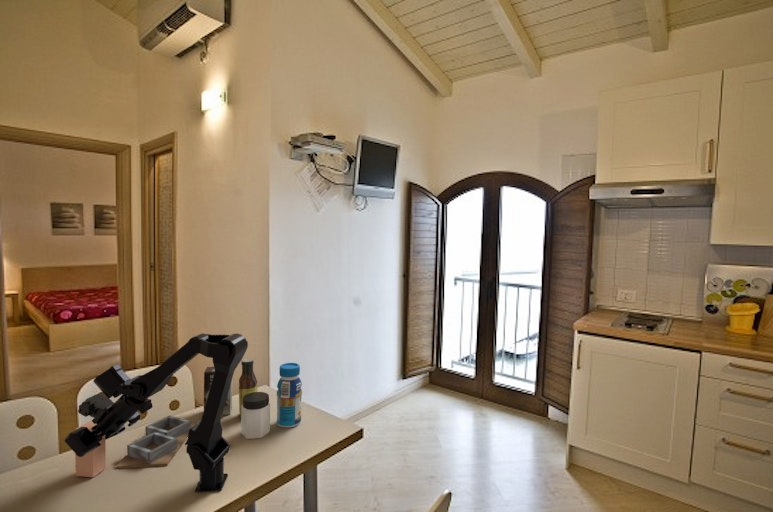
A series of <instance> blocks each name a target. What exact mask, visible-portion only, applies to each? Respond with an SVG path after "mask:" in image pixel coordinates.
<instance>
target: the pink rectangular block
mask: <svg viewBox="0 0 773 512" xmlns="http://www.w3.org/2000/svg"><path fill="white" fill-rule="evenodd" d="M95 425H97V424H94V423H93V422H92V421H87V422H85V423H84V424H82V425H80V426H78V427H76V428H74V431H75V430H77V429H79V428H80V427H87V428H88V429H89V430H90V431H91V432H92V429H91V428H92V427H93V426H95ZM94 431H95V430H94ZM98 435H99V434H98ZM99 443H100V444H101V445H100V446H99V447H97V448H95V449H94V450H92V451H90V452H89V453H87V454H86V455H84V456H83V457H78V456H77V455H76V454H75V453H74V455H75V457H74V458H75V476H76V477H84V478H85V477H87V478H95V477H96V476H97V475H99V474H101V472H102V471H104V470H105V469H106V468H107V466H106V465H107V464H106V463H107V462H106V461H107V459H106V456H107V455H106V453H107V452H106V450H107V449H106V440H105V436H103V437H102V440H101V441H100V442H99Z"/></svg>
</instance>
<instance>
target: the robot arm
mask: <svg viewBox="0 0 773 512" xmlns="http://www.w3.org/2000/svg"><path fill="white" fill-rule="evenodd" d="M248 347H249V342H248V340H247V339H246V337H245V336H243V334H241V333H232V334H209V333H200V334H197V335H195V336H192V337H191V338H190V339H189V340H188V341H187V342H186V343H185V344H184V345H182V346H181V347H180V348H179V349H178V350H176V351H175V352H174V353H173V354H171V355H170V356H169V357H168V358H167V359H165V360H164V361H163V362H162V363H161V364H159V365H158V366H157V367H155V368H154V369H151V370H150V371H148V372H146V373H144V374H141V375H139V374H138V375H137V376H135V377H132V378H130V376H129V375H127V373H126V372H125V371H124V370H123V369H122V367H121V365H119V363H117V364H114V365H111V366H110V367H109V368H108V369H107V370H105V371H104V372H102V373H101V374H99V375H97V376H96V377H95V378H94V379H93V381H92V382H93V384H95V386H97V388H98V389H99V390H100V391H101V392H102V393H103V394H104V395H103V394H102V393H96V394H94V395H91V396H89V397H87V398H86V399H85V400H84V401H82V402H81V404H79V405H78V410H77V412H78V414H80V415H81V416H84V417H85V418H86V417H89V416H90V417H91V418H93V419H91V422H93V423H94V424H97V425H95V426H93V427H92V428H91V429H92V432H91V431H90V430H89V429H88V428H87V427H80V426H79V427H80V428H79V429H77V430H75V429H74V430H73V431H72V432H70V433H68V434H67V435H66V437H64V443H66V445H67V446H68V447H69V448H70V449H71V450H72V451H73V453H74V455H75V454H76V455H77V456H78V457H83V456H84V455H86V454H87V453H89V452H90V451H92V450H94V449H95V448H97V447H99V446H100V445H101V444H100V443H99V442H100V441H101V440H102V437H103V436H105V441H106V440H109V439H110V438H112V437H115V436H117V435H119V434H121V433H122V432H124V431H125V430H126V427H125V426H126V425H125V424H127V423H128V424H127V426H128V427H129V428H130V427H132V426H133V425H134V424H136V423H138V422H139V420H140V419H141V414H145V413H146V412H148V411H149V410H151V409H153V403H152V399H149V398H150V397H152V396H154V395H155V394H158V393H159V392H160V391H162V390H163V389H164V388H165V387H166V385H167V384H168V383H170V380H171V379H172V377H173V376H174V375H175V374H176V373H177V372H178V371H179V370H180V369H182V368H183V367H184V366H186V364H188V363H189V362H190V361H191V360H193V359H194V358H195V357H197V356H198V355H199V354H200V355H202V356H204V357H207V358H211V359H212V364H213V367H214V368H215V372H214V375H213V379H212V383H211V386H210V390H209V394H208V397H207V401H206V404H205V408H204V407H203V412H202V415H201V419H200V421H198V422H197V424H196V425H195V426H193V427H192V428H191V429H190V430H189V433H188V438H187V439H186V441H185V442H184V445H185V446H186V449H185V450H186V454H188V456H189V459H190V462H191V465H192V468H193V470H198V471H199V481H198V482H197V484H196V486H195V489H194V493H205V492H221V491H222V490H223V488H224V486H225V484H226V481H227V479H228V477H229V474H228V473H225V472H224V469H225V461H224V460H225V456H226V455H227V454H228V453H229V452H230V449H231V447H232V445H231V444H230V443H229V442H228V441H227V440H226V439H225V438H224V436H223V426H222V422H221V420H222V417H223V415H222V413H223V410H224V406H225V402H226V399H227V395H228V392H229V388H230V385H231V381H232V378H233V376H234V374H235V371H236V370H237V367H238V366H239V364H240V362H241V361H242V360H243V358H244V356H245V354H246V352H247V349H248ZM119 396H120V397H119ZM118 397H119V398H118ZM111 398H114V399H116V398H118V399H117V400H116V401H115V402H114V401H113V400H112V399H111ZM94 430H95V431H94ZM98 434H99V435H98Z"/></svg>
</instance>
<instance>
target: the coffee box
mask: <svg viewBox="0 0 773 512" xmlns="http://www.w3.org/2000/svg"><path fill="white" fill-rule="evenodd" d="M214 372H215V368H214V366H206V368H205V370H204V372H203V409H204V408H205V404H206V401H207V397H208V394H209V390H210V386H211V383H212V379H213V375H214ZM233 380H234V379H233V378H232V381H231V385H230V388H229V392H228V395H227V399H226V402H225V406H224V410H223V413H222V416H230V415H231V414H232V411H233Z"/></svg>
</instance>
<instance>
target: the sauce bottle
mask: <svg viewBox="0 0 773 512" xmlns="http://www.w3.org/2000/svg"><path fill="white" fill-rule="evenodd" d="M240 362H241V375H240V377H239V378H238V405H239V408H238V409H239V410H238V411H239V416H240V417H241V405H243V397H244V396H245V395H247V394H249V393H253V392H258V380H257V377H256V374H255V372H254V364H255V363H254V359H253V358H245V359H242V360H241V361H240Z"/></svg>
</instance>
